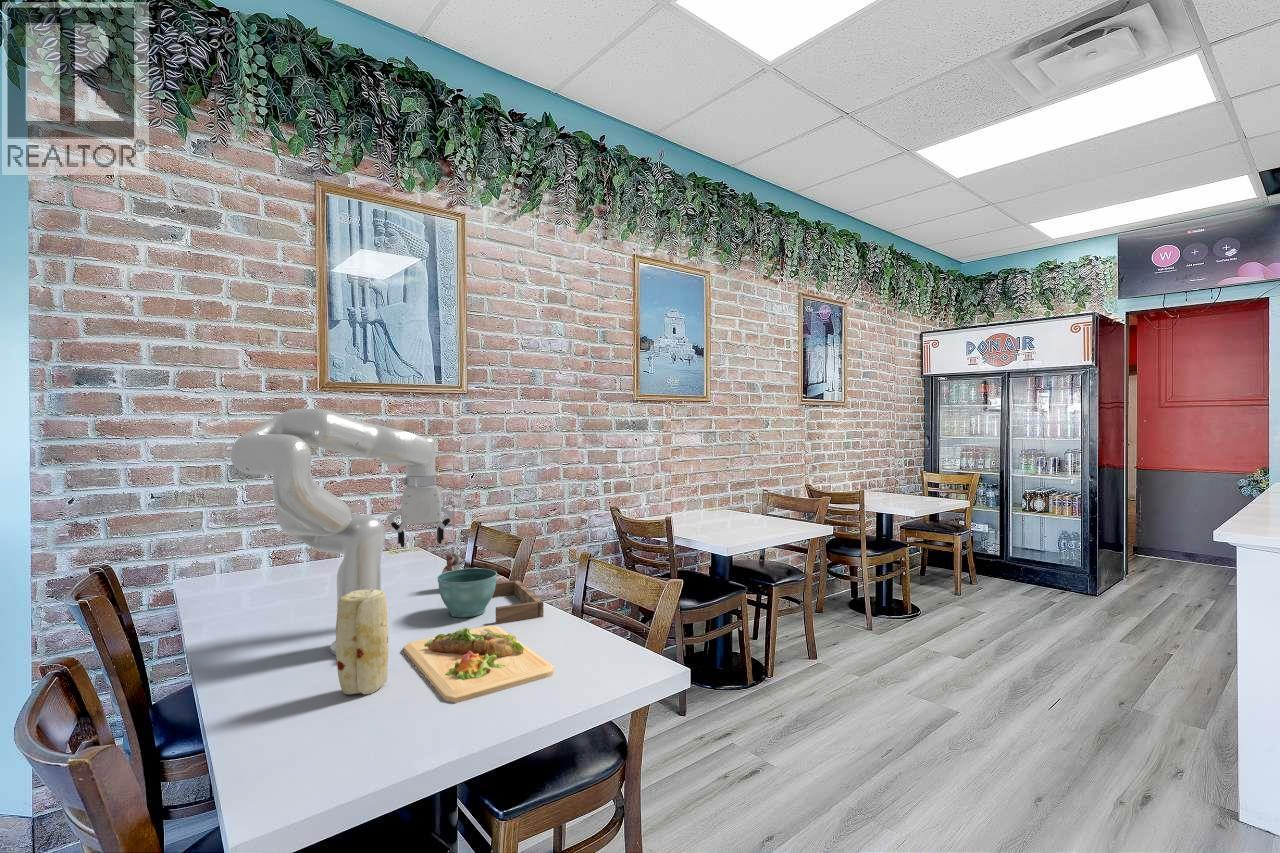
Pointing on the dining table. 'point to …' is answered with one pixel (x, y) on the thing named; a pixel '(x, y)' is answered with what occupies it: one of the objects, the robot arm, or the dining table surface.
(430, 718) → the dining table surface
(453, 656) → the cutting board
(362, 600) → the food model
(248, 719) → the dining table surface
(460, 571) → the flower pot
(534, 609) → the walnut bay
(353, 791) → the dining table surface
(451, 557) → the figurine
